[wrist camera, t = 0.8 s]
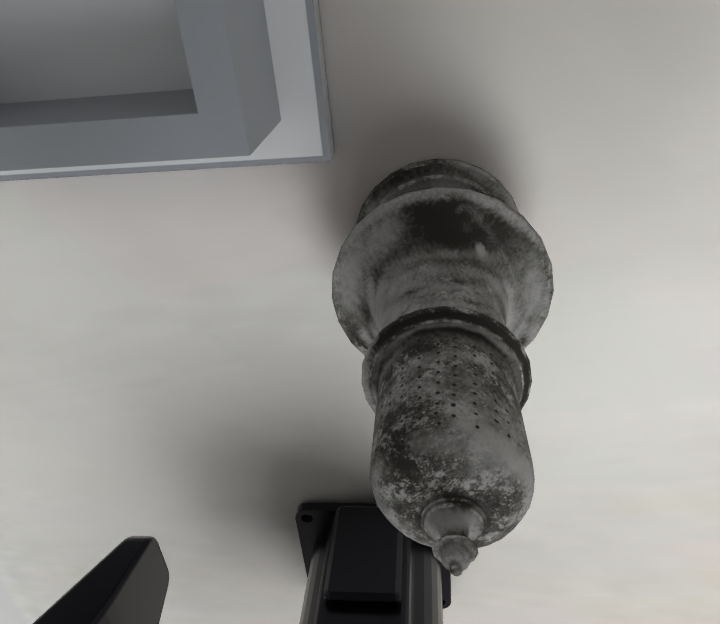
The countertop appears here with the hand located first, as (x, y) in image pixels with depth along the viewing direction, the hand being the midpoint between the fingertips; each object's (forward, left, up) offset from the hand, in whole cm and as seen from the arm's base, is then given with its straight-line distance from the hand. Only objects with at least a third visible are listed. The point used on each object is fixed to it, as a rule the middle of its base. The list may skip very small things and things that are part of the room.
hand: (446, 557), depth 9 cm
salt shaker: (0, 0, -12) cm, 12 cm away
